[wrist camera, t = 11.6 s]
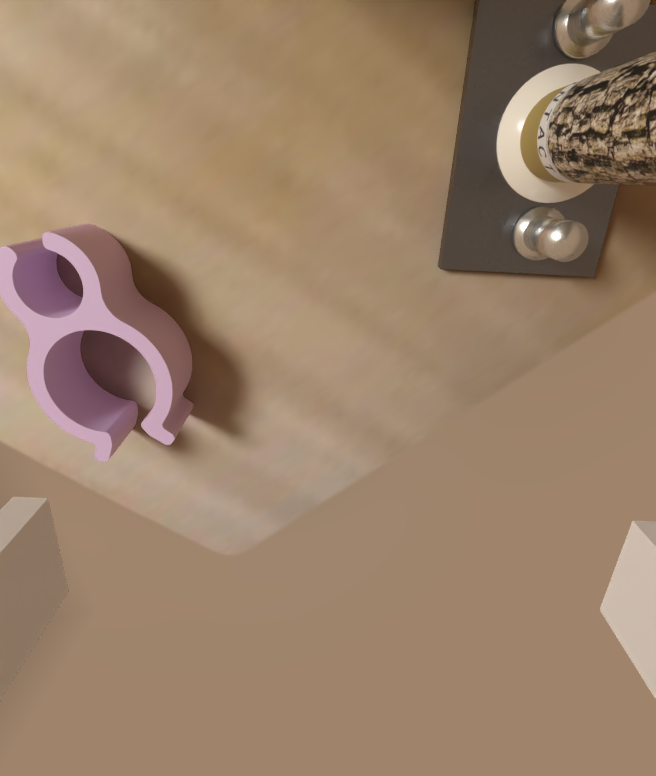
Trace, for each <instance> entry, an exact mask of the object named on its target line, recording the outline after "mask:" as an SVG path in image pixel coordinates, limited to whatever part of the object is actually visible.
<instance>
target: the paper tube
mask: <svg viewBox="0 0 656 776" xmlns="http://www.w3.org/2000/svg"><path fill="white" fill-rule="evenodd" d="M520 150H521V155H522V158H523V161H524V163H525V165H526V167H527V168H528V169H529V171H530V172H531V173H532V174H534V175H535V176H536V177H538V178H540V179H542V180H545V181H548V182H564V183H588V184H623V185H656V51H655V52H652V53H650V54H647V55H645V56H642V57H639V58H637V59H634V60H632V61H629V62H626V63H624V64H621V65H618V66H616V67H613V68H611V69H608V70H605V71H603V72H600V73H598V74H595V75H592V76H590V77H587V78H584V79H582V80H579V81H577V82H575V83H572V84H570V85H567V86H565V87H562V88H559V89H557V90H554V91H552V92H551V93H549V94H547V95H546V96H544V97H543V98H542V99H541V100H540V101H539V102H538V103H537V104H536V105H535V106H534V107H533V108H532V110H531V111H530V113H529V114H528V116H527V118H526V120H525V122H524V125H523V128H522V132H521V137H520Z"/></svg>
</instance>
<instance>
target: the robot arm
mask: <svg viewBox="0 0 656 776" xmlns="http://www.w3.org/2000/svg"><path fill="white" fill-rule="evenodd" d="M68 592H69V589H68V585H67V580H66V576H65V572H64V567H63V563H62V558H61V554H60V549H59V545H58V541H57V536H56V532H55V527H54V523H53V518H52V514H51V510H50V505H49V501H48V498H30V497H29V498H28V497H12V499H11V500H10V501H9V502H8V503H7V504H6V505H5V506H4V507H3V508H2V509H1V510H0V700H1V698H2V697H3V695H4V694H5V692H6V690H7V689H8V687H9V685H10V684H11V682H12V681H13V679H14V678H15V676H16V675H17V673H18V671H19V670H20V668H21V666H22V665H23V663H24V662H25V660H26V659H27V657H28V655H29V654H30V652H31V651H32V649H33V647H34V646H35V644H36V643H37V641H38V640H39V638H40V636H41V635H42V633H43V632H44V630H45V628H46V627H47V625H48V623H49V622H50V620H51V619H52V617H53V616H54V614H55V612H56V611H57V609H58V608H59V606H60V604H61V603H62V601H63V600H64V598H65V596H66V595H67V593H68ZM600 611H601V613H602V614H603V616H604V617H605V619H606V620H607V622H608V624H609V625H610V627H611V628H612V630H613V631H614V633H615V635H616V636H617V638H618V640H619V641H620V643H621V645H622V646H623V648H624V649H625V651H626V652H627V654H628V656H629V657H630V659H631V660H632V662H633V664H634V665H635V667H636V668H637V670H638V672H639V673H640V675H641V677H642V678H643V680H644V681H645V683H646V684H647V686H648V688H649V689H650V691H651V692H652V694H653V696H654V697H655V699H656V522H653V521H632V524H631V527H630V530H629V532H628V535H627V538H626V540H625V543H624V546H623V548H622V551H621V554H620V556H619V559H618V562H617V565H616V567H615V570H614V573H613V576H612V578H611V581H610V584H609V586H608V589H607V592H606V594H605V597H604V600H603V602H602V605H601V608H600Z"/></svg>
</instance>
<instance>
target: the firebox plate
mask: <svg viewBox="0 0 656 776" xmlns="http://www.w3.org/2000/svg"><path fill="white" fill-rule="evenodd" d="M564 1H565V0H476V1H475V8H474V15H473V22H472V29H471V36H470V43H469V51H468V58H467V65H466V72H465V79H464V86H463V93H462V100H461V107H460V114H459V121H458V128H457V135H456V142H455V149H454V156H453V163H452V170H451V178H450V185H449V192H448V199H447V206H446V213H445V220H444V227H443V234H442V241H441V248H440V255H439V262H438V267H439V268H440V269H452V270H471V271H489V272H508V273H526V274H545V275H563V276H582V277H594V275H595V272H596V268H597V264H598V261H599V257H600V253H601V250H602V246H603V242H604V239H605V235H606V231H607V228H608V224H609V220H610V217H611V213H612V209H613V206H614V202H615V198H616V195H617V191H618V187H619V184H594V185H592V186H591V187H590V188H589V189H587V190H586V191H585V192H583V193H581V194H579V195H578V196H576V197H573V198H571V199H569V200H565V201H562V202H555V203H542V202H535V201H532V200H529V199H527V198H524V197H522V196H521V195H519V194H518V193H516V192H515V191H514V190H513V189H512V188H511V187H510V186H509V184H508V183H507V182H506V180H505V179H504V177H503V175H502V173H501V171H500V168H499V164H498V161H497V154H496V140H497V132H498V128H499V124H500V121H501V118H502V115H503V113H504V111H505V109H506V107H507V105H508V104H509V102H510V100H511V99H512V97H513V96H514V95H515V94H516V92H517V91H518V90H519V89H520V88H521V87H522V86H523V85H524V84H525V83H526V82H527V81H528V80H530V79H531V78H532V77H534V76H535V75H537V74H538V73H540V72H542V71H544V70H546V69H549V68H551V67H554V66H557V65H562V64H582V65H586V66H590V67H592V68H594V69H596V70H598V71H600V72H603V71H605V70H608V69H611V68H613V67H616V66H618V65H621V64H624V63H626V62H629V61H632V60H634V59H637V58H639V57H642V56H645V55H647V54H650V53H652V52H655V51H656V5H652V4H649V6H648V8H647V10H646V12H645V13H644V15H643V16H642V17H641V18H640V19H639V20H638V21H636V22H635V23H633V24H631V25H629V26H627V27H625V28H623V29H621V30H619V31H617V32H615V33H614V34H613V36H612V38H611V39H610V41H609V42H608V43H607V45H606V46H605V47H604V48H603V49H601V50H600V51H599V52H597V53H596V54H594V55H592V56H589V57H587V58H584V59H580V60H573V59H569V58H567V57H565V56H563V55H562V54H561V53H560V52H559V51H558V49H557V48H556V46H555V43H554V39H553V23H554V19H555V16H556V14H557V12H558V9H559V8H560V6H561V5H562V3H563V2H564ZM535 207H550V208H554V209H556V210H557V211H559V212H560V213H561V214H562V215H563V217H564V218H565V219H566V220H571V221H576V222H579V223H581V224H583V225H584V226H585V228H586V229H587V231H588V237H589V238H588V244H587V247H586V249H585V250H584V252H583V253H582V254H581V255H580V256H579V257H578V258H576V259H574V260H572V261H568V262H561V261H558V260H555V259H552V258H546V259H543V260H530V259H527V258H525V257H523V256H521V255H520V254H519V253H518V252H517V251H516V250H515V248H514V246H513V243H512V231H513V228H514V225H515V223H516V222H517V220H518V219H519V217H520V216H521V215H522V214H523V213H525V212H526V211H528V210H530V209H532V208H535Z"/></svg>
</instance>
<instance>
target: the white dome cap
mask: <svg viewBox="0 0 656 776" xmlns="http://www.w3.org/2000/svg"><path fill="white" fill-rule="evenodd" d="M598 73H600V71H598V70H596V69H594V68H592V67H590V66H586V65H582V64H562V65H557V66H554V67H551V68H549V69H546V70H544V71H542V72H540V73H538V74H537V75H535V76H534V77H532V78H531V79H530V80H528V81H527V82H526V83H525V84H524V85H523V86H522V87H521V88H520V89H519V90H518V91H517V92H516V94H515V95H514V96H513V97H512V99H511V100H510V102H509V104H508V105H507V107H506V109H505V111H504V113H503V115H502V118H501V121H500V124H499V128H498V132H497V140H496V154H497V161H498V164H499V168H500V171H501V173H502V175H503V177H504V179H505V180H506V182H507V183H508V184H509V186H510V187H511V188H512V189H513V190H514V191H515V192H516V193H518V194H519V195H521V196H522V197H524V198H527V199H529V200H532V201H535V202H542V203H555V202H562V201H565V200H569V199H571V198H573V197H576V196H578V195H579V194H581V193H583V192H585V191H586V190H587V189H589V188H590V187H591V186H592V185H594V184H588V183H564V182H548V181H545V180H542V179H540V178H538V177H536V176H535V175H534V174H532V173H531V172H530V171H529V169H528V168H527V167H526V165H525V163H524V161H523V158H522V155H521V150H520V137H521V132H522V128H523V125H524V122H525V120H526V118H527V116H528V114H529V113H530V111H531V110H532V108H533V107H534V106H535V105H536V104H537V103H538V102H539V101H540V100H541V99H542V98H543V97H544V96H546V95H547V94H549V93H551V92H552V91H554V90H557V89H559V88H562V87H565V86H567V85H570V84H572V83H575V82H577V81H579V80H582V79H584V78H587V77H590V76H592V75H595V74H598Z"/></svg>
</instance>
